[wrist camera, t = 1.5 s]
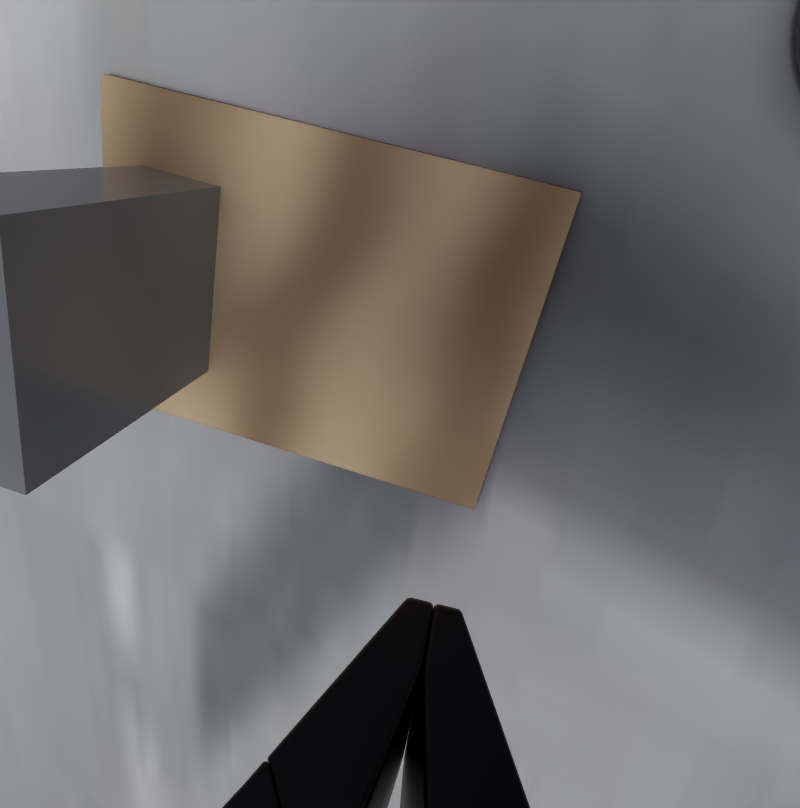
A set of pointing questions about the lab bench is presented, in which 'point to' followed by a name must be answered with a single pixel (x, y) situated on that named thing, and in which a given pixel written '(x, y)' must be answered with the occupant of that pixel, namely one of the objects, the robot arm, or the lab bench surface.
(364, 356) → the cork mat
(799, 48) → the supplement bottle
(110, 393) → the thick grey slab block
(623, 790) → the lab bench surface
